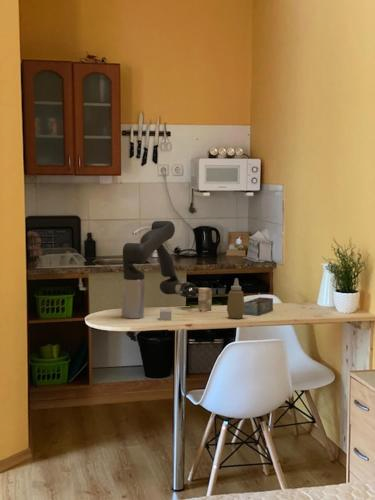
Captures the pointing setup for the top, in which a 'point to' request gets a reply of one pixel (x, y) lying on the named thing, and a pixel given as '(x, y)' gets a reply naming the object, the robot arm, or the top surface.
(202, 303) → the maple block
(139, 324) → the top surface
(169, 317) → the grey block
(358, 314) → the top surface
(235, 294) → the squeeze bottle
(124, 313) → the robot arm
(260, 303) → the beverage carton
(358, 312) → the top surface
